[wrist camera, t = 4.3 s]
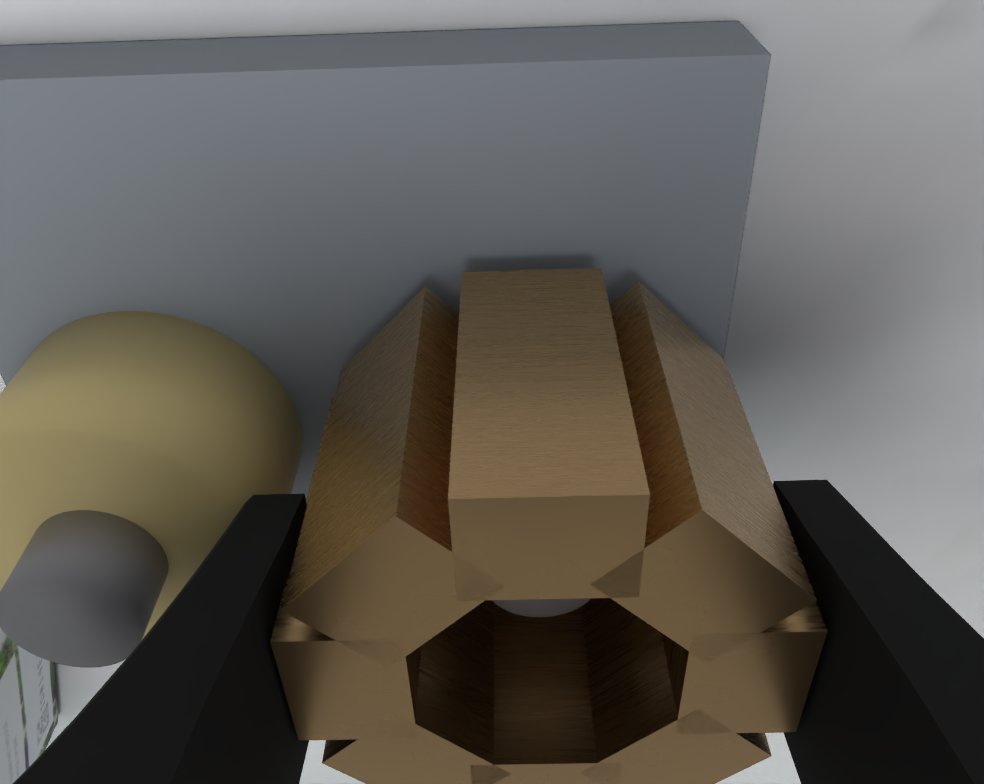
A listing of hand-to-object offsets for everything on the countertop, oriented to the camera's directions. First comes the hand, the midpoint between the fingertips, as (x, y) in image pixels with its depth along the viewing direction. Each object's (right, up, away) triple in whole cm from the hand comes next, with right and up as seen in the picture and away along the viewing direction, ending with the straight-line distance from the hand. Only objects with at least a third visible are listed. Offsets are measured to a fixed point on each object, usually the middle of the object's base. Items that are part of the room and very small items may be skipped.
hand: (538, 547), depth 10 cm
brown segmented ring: (0, +1, +2) cm, 2 cm away
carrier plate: (-2, +2, +3) cm, 5 cm away
